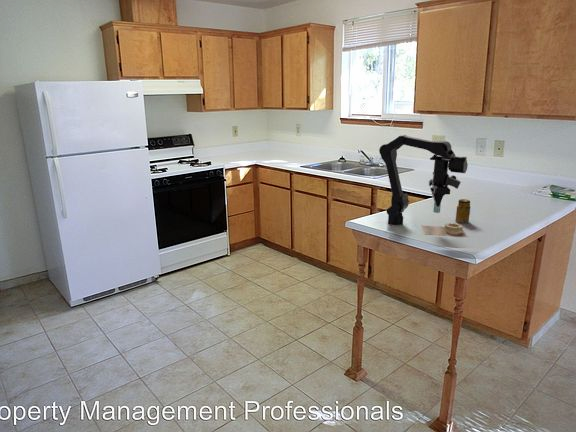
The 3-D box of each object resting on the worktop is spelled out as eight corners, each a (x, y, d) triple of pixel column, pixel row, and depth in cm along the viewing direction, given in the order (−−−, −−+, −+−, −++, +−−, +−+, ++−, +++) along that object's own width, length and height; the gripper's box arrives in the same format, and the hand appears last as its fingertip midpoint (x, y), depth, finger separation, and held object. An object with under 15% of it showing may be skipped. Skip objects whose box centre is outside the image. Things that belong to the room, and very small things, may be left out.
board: (424, 237, 190) (425, 234, 190) (420, 228, 202) (421, 225, 202) (467, 239, 187) (467, 236, 187) (460, 229, 200) (461, 227, 199)
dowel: (433, 212, 191) (436, 190, 188) (432, 211, 194) (435, 189, 191) (440, 212, 190) (442, 191, 188) (439, 211, 193) (441, 189, 190)
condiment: (457, 221, 213) (460, 197, 210) (475, 224, 207) (478, 200, 204) (451, 224, 208) (454, 200, 204) (469, 228, 202) (472, 203, 199)
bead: (446, 233, 191) (447, 227, 190) (443, 228, 197) (444, 222, 196) (462, 234, 190) (463, 228, 189) (459, 229, 196) (460, 223, 195)
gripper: (464, 175, 177) (460, 211, 181) (455, 167, 194) (452, 201, 199) (436, 174, 178) (433, 210, 183) (430, 167, 196) (427, 200, 201)
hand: (437, 205), depth 191 cm, fingers closed on dowel, 3 cm apart
